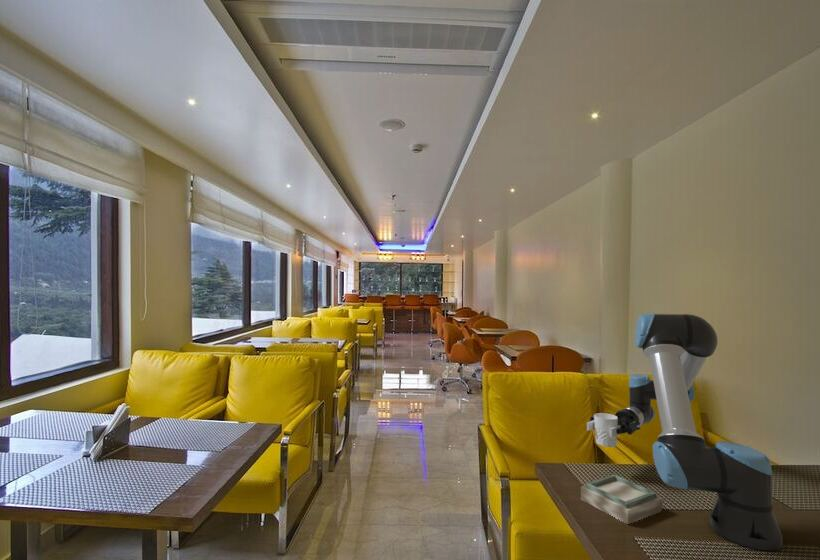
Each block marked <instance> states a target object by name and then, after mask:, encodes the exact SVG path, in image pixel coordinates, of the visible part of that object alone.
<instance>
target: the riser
mask: <svg viewBox="0 0 820 560" xmlns="http://www.w3.org/2000/svg"><path fill="white" fill-rule="evenodd" d="M580 500H581V501H582V502H584V503H587V504H589V505H591V506H593V507H594V508H595V509H598V510H600V511H602V512H603V513H605V514H607V515H608V514H609V516H610V515H611V516H610V517H612V516H613V518H614V517H615V518H614V519H616V520H618V519H619V520H620V521H619V520H618V521H619V522H621V521H622V522H621V523H623V522H624V523H623V524H625V523H627V524H630V523H632V524H634V523H633V522H635V523H637V522H639V521H638V520H640V521H642V520H644V519H643V518H645V519H646V517H647V518H649V517H648V516H650V517H652V516H654V515H656V513H657V514H659V513H662V512H663V497H661V496H659V495H657V492H655V491H652V490H651V489H648V488H646V487H644V486H642V485H639V484H637V483H634V482H633V481H630V480H628V479H626V478H623V477H621V476H619V475H616V474H612V475H608V476H605V477H602V478H598V479H596V480H591V481H589V482H586V483H585V484H584V485H581V486H580ZM661 511H662V512H661ZM651 515H652V516H651ZM641 519H642V520H641ZM636 521H637V522H636ZM627 524H626V525H627ZM630 525H631V524H630Z"/></svg>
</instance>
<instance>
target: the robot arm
mask: <svg viewBox="0 0 820 560" xmlns="http://www.w3.org/2000/svg"><path fill="white" fill-rule="evenodd" d="M634 342H635V343H634V344H635V346H636V348H639V349H642V352H643V355H644V356H645V357H646V358H648V359H649V362H650V370H651V374H652V375H651V376H652V379H653V380H652V379H651V377H650V376H649V375H647V374H638V373H636V374H635V373H634V374H631V375H630V376H629V378H628V379H629V382H628V389H629V391H628V392H629V401H628V402H629V403H628V404H629V406H628V407H626V408H625V407H624V408H622V409H620V410H617V412H616V413H615V416H617V417H618V426H615V427H613V428H610V437H613V436H616V435H617V436H618V435H622V434H624V435H625V434H626V433H627V435H630V436H631V435H633V434H634V433H635V432H636V431H638V430H641V426H642V425H646V424H648V423H650V422H651V421H652V420H654V419H655V416H656V412H655V409H654V408H653V406H652V404H651V403H652V400H653V401H656V405H657V410H658V415H659V421H660V428H661V433H660V434H659V435H658V436H657V441H656V442H653V444H652V457H653V461H654V464H655V469H656V471H657V474H658V475H659V477H660V479H661V480H662V482H663V483H664V484H665V485H667V486H669V487H672V488H679V489H681V490H692V491H694V490H695V491H701V492H707V493H708V492H709V493H710V492H711V493H716V494H717V498H716V500H715V504H714V505H713V508H712V511H711V513H710V515H709V516H710V517H709V518H710V527H711V528H712V529H713V531H715V533H717V534H719V536H722V537H723V538H725V539H727V540H728V541H731V542H732V543H735V544H737V545H740V546H744V547H746V548H750V549H754V550H760V551H767V552H768V551H769V552H770V551H772V552H773V551H778V550H781V549H782V548H783V545H784V544H783V541H784V539H783V533H782V530H781V528H780V527H779V524H778V521H777V519H776V517H775V514H774V511H773V510H774V509H773V504H774V503H773V470H772V463H771V459H770V458H769V456H767V455H766V454H765V453H763V452H761V451H759V450H757V449H755V448H752V447H750V446H747V445H744V444H740V443H736V442H733V441H726V440H721V441H719V440H718V441H717V442H716V443H715V445H714V446H715V447H711V446H706V442H705V438H704V437H703V436H701V435H700V434H699V433H697V430H696V425H695V421H694V415H693V412H692V411H693V410H692V406H691V402H693V401H694V400H695V393H696V392H695V388H694V386H693V384H694V382H695V381H696V378H697V376H698V375H699V373H700V372H701V369H702V368H703V365H704V364H705V362H706V359H707V358H709V357H711V356H712V355H713V354H715V351H716V349H717V347H718V335H717V332H716V330H715V329H714V327H713V326H712V325H711V324H710V322H708V321H707V320H706V319H704V317H703V318H702V317H700V316H698V315H695V314H689V313H685V314H681V313H679V314H676V313H670V314H668V313H647V314H646V313H644V314H643V313H642V314H641V315H640V316H639V317H638V319H637V321H636V325H635V333H634ZM589 420H590V421H588V422H586V431H592V430H595V426H594V416H590V417H589Z"/></svg>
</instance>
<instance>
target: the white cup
mask: <svg viewBox="0 0 820 560" xmlns="http://www.w3.org/2000/svg"><path fill="white" fill-rule="evenodd" d="M593 417H594V426H595V429H594V435H595V443H596V444H597V445H599V446H601V447H606V448H614V447H617V445H618V443H617V442H618V441H617V440H618V435H616V436H613V437H610V428H613V427H615V426H618V417H617V416H615V415H614V414H611V413H605V412H599V413H594V414H593Z"/></svg>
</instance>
